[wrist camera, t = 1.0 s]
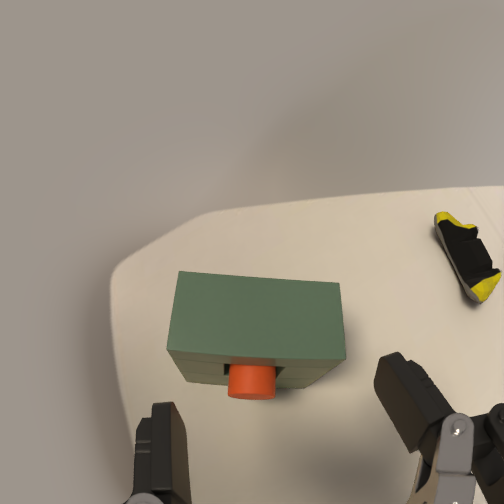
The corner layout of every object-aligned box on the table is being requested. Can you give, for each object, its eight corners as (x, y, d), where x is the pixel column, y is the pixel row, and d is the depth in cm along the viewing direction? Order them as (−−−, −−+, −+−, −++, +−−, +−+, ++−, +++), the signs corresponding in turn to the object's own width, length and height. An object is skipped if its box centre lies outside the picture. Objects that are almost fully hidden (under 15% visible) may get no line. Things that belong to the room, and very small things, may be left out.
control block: (304, 388, 29) (346, 359, 20) (186, 381, 29) (166, 349, 19) (303, 335, 33) (339, 282, 23) (192, 327, 32) (178, 270, 22)
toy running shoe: (458, 316, 35) (495, 302, 37) (482, 298, 31) (517, 284, 32) (418, 229, 43) (457, 226, 45) (434, 206, 39) (473, 205, 40)
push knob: (271, 400, 23) (278, 394, 20) (227, 398, 23) (227, 392, 20) (272, 366, 25) (279, 355, 22) (229, 364, 25) (230, 352, 22)
